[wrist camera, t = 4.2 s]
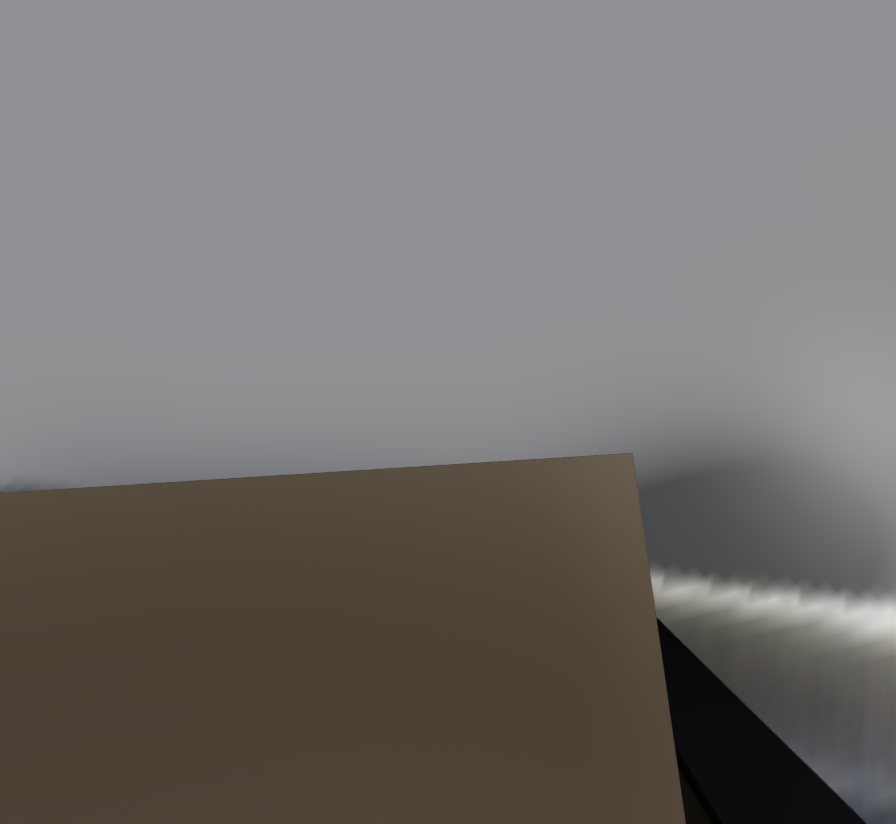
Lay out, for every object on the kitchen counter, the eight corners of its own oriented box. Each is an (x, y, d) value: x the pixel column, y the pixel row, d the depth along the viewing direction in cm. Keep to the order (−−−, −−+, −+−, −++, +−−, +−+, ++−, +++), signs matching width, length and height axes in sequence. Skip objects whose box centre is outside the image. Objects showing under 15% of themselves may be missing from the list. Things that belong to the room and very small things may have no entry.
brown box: (518, 791, 13) (848, 1942, 2) (303, 803, 13) (-661, 2015, 2) (501, 568, 15) (633, 452, 3) (304, 581, 15) (-276, 508, 3)
